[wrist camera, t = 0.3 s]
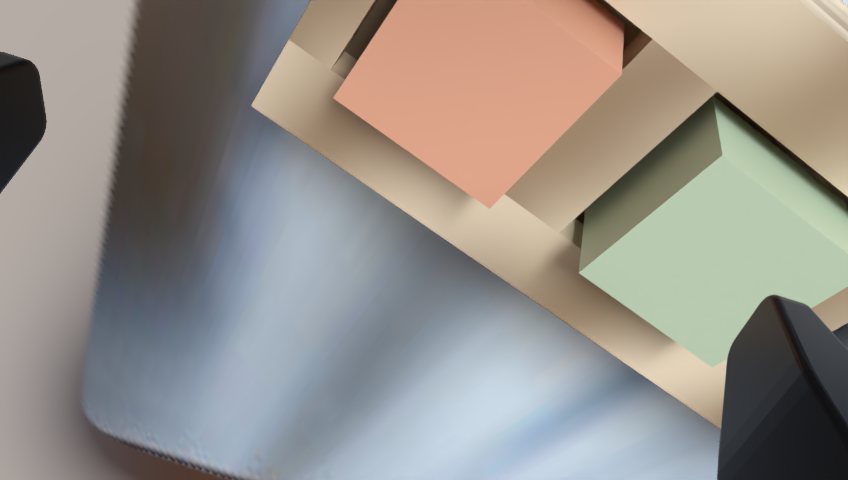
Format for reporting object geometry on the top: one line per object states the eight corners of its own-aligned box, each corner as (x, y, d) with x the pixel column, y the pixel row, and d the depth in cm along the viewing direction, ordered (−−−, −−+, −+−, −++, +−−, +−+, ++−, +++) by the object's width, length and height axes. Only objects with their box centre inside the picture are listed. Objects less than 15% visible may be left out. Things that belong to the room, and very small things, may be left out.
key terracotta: (624, 22, 15) (621, 74, 13) (506, 149, 17) (489, 208, 15) (469, -103, 14) (442, -68, 12) (368, 48, 17) (332, 98, 15)
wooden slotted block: (1127, 252, 18) (1224, 368, 15) (818, 406, 24) (844, 513, 21) (507, -293, 15) (471, -284, 12) (310, 39, 20) (250, 105, 17)
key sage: (844, 200, 16) (871, 272, 14) (705, 296, 19) (712, 367, 17) (712, 94, 15) (722, 155, 13) (585, 208, 18) (578, 273, 16)
